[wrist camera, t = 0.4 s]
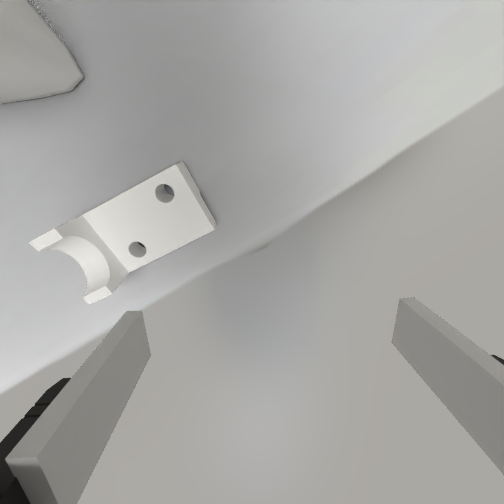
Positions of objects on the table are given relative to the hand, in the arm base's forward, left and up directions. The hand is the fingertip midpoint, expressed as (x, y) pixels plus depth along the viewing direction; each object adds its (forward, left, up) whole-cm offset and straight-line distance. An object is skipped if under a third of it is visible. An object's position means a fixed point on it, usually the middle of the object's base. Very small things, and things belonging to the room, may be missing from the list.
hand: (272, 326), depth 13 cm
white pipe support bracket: (-1, -16, -28) cm, 32 cm away
